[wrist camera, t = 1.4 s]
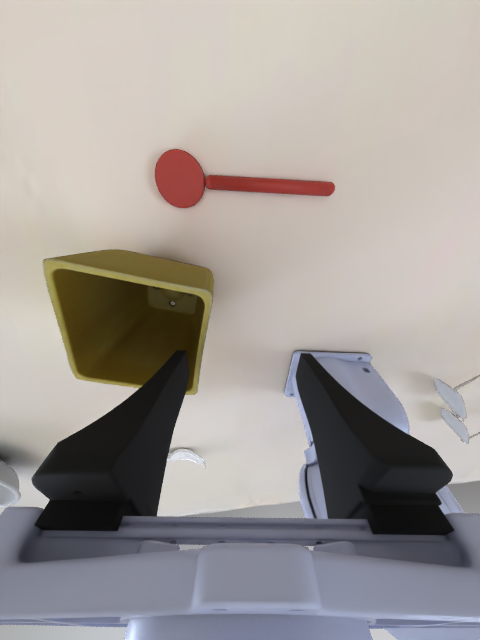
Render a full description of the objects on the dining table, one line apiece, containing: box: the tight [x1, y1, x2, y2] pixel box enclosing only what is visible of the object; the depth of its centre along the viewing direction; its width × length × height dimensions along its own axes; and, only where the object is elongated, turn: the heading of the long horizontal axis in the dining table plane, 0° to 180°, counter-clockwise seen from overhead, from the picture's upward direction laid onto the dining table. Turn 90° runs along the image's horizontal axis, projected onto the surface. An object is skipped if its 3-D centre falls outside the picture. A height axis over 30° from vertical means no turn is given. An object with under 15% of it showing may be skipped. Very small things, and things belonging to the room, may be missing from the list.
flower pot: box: [43, 250, 214, 395], centre depth 16 cm, size 9×9×9 cm
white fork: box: [167, 449, 206, 468], centre depth 36 cm, size 3×20×2 cm, turn 88°
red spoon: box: [155, 149, 335, 208], centre depth 15 cm, size 14×4×1 cm, turn 87°
